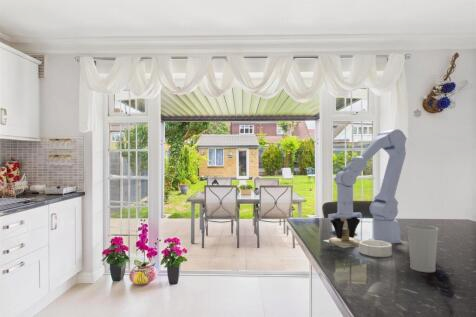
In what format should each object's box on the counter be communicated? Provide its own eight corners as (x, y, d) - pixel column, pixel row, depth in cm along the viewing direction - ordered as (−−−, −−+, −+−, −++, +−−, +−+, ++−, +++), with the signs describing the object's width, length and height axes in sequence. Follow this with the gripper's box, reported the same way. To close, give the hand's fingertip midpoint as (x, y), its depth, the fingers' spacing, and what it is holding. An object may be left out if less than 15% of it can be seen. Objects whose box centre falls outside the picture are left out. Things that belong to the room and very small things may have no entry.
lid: (347, 237, 129) (347, 225, 129) (369, 244, 118) (369, 230, 118) (322, 240, 124) (322, 227, 125) (342, 247, 113) (342, 233, 113)
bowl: (375, 248, 113) (375, 238, 114) (398, 256, 104) (398, 245, 104) (353, 251, 110) (353, 241, 110) (374, 259, 101) (374, 248, 101)
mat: (347, 238, 129) (347, 237, 129) (369, 245, 118) (369, 244, 118) (322, 241, 124) (322, 240, 124) (343, 248, 113) (343, 247, 113)
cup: (428, 275, 86) (427, 230, 86) (401, 266, 93) (400, 225, 93) (445, 270, 90) (444, 228, 90) (417, 263, 97) (417, 223, 97)
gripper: (352, 200, 128) (353, 234, 127) (322, 201, 122) (323, 236, 122) (365, 202, 121) (366, 237, 121) (334, 203, 116) (334, 241, 116)
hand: (345, 237), depth 121 cm, fingers open, 5 cm apart
